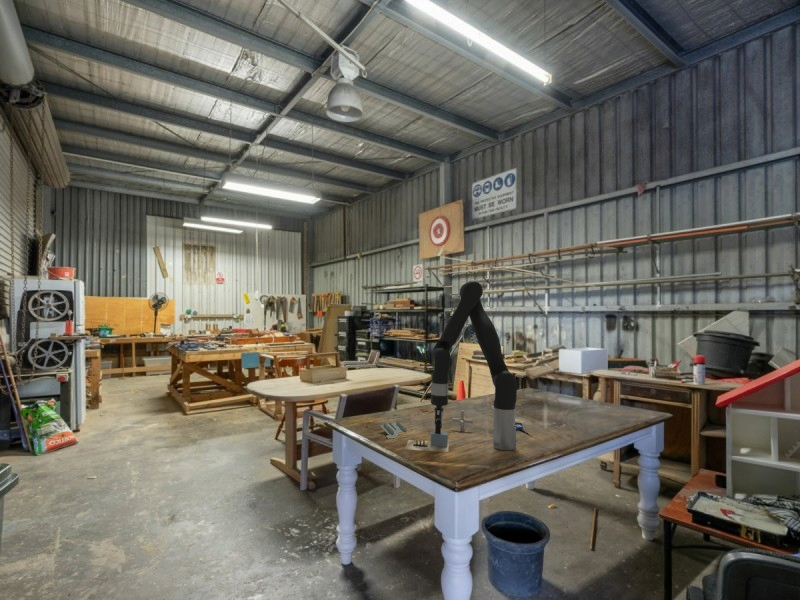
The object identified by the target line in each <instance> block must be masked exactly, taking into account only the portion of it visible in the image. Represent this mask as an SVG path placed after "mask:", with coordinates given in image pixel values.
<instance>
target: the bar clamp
mask: <svg viewBox="0 0 800 600" xmlns="http://www.w3.org/2000/svg"><path fill="white" fill-rule="evenodd" d="M515 427H516V430H521V431H520V432H523V433H524V432H525V434H526V432H527V431H526V430H524V429H523V428H524V426H523V423H522V422H517V421H515Z"/></svg>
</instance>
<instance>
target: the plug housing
mask: <svg viewBox="0 0 800 600" xmlns="http://www.w3.org/2000/svg"><path fill="white" fill-rule="evenodd" d="M448 436H449V433H448V432H447V431H441V433H440V434H436V433H435V431H433V430H432V431H431V433H430V441H431V446H438V447H447V445H448V442H449V441H448V440H449V437H448Z"/></svg>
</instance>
